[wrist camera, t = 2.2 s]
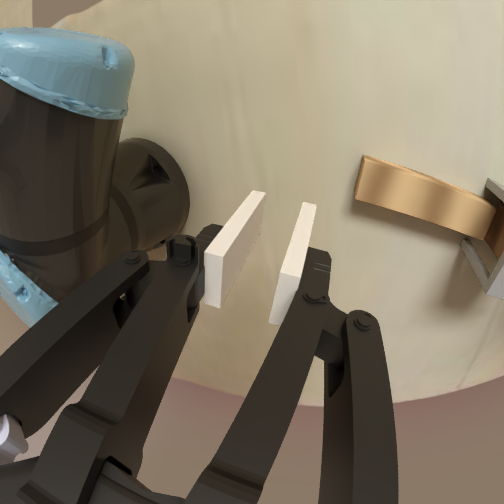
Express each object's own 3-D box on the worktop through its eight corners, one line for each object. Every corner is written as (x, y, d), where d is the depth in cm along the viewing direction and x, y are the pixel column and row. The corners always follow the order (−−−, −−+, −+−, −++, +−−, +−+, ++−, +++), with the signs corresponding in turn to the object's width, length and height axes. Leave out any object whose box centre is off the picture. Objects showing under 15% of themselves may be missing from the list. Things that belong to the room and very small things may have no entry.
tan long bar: (353, 188, 28) (355, 199, 26) (362, 153, 26) (365, 160, 24) (473, 228, 26) (482, 240, 23) (485, 198, 23) (496, 209, 21)
